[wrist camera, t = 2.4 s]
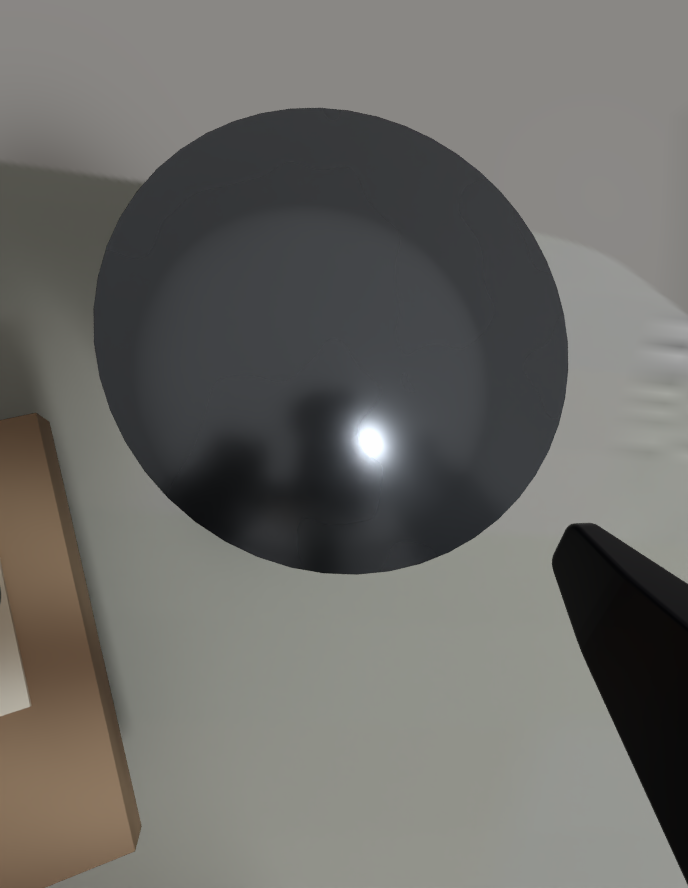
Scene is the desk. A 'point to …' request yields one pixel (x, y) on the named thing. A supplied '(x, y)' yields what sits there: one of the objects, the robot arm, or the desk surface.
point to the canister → (330, 341)
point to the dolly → (52, 684)
